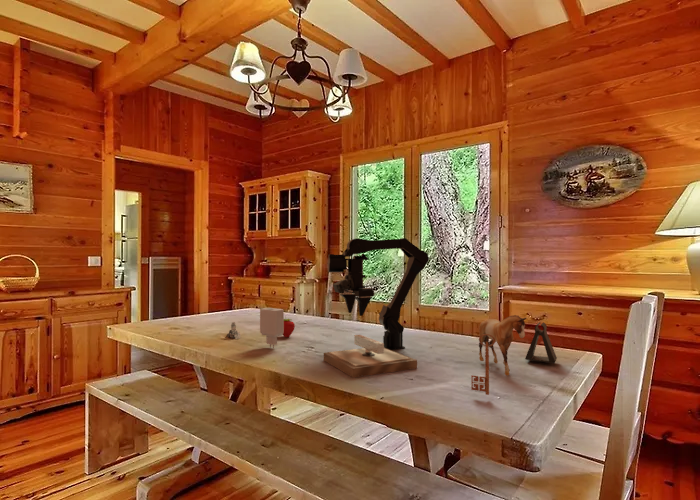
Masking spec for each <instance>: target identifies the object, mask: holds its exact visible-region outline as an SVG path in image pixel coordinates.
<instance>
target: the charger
mask: <svg viewBox="0 0 700 500" xmlns="http://www.w3.org/2000/svg"><path fill="white" fill-rule="evenodd" d="M284 312H285V311H284V309H283V308H273V307H264V308H263V307H262V308H260V309H259V333H260V334H261V335H262V336H266V341H265V342H266V344H268V345H269V348H270V349H271V348H272V349H275V346H276V345H278V337H282V336H283V333H284V319H285V318H284V317H285V313H284Z"/></svg>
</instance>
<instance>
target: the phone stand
mask: <svg viewBox="0 0 700 500" xmlns="http://www.w3.org/2000/svg"><path fill="white" fill-rule="evenodd" d="M539 325H540V326H541V327H542V328H543V330H542V329H540V328H539ZM547 328H548V327H547V323H545V322H542V323H541V322H537V324H536V325H535V326H534V335H533V337H532V340H531V343H530V344H529V345H530V346H529V348H528V350H527V353H526V355H525V357H524V360H526V361H534V362H543V363H551V364H555V363H556V362H557V359H558V356H557V355H556V352H555V349H554V347H553V345H552V342H551V339H550V337H549V334H548V331H547ZM539 337H541V338H542V341H543V346H544V349H545V352H546V355H547V356H541V355H535V351H536V348H537V346H538V341H539Z"/></svg>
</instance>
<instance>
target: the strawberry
mask: <svg viewBox="0 0 700 500" xmlns="http://www.w3.org/2000/svg"><path fill="white" fill-rule="evenodd" d="M292 320H293V319H291V318H284V333H283V335H282V336H283V337H284V338H290V337H291V335H292V334H293V332H294V330H295V327H296V325H295V323H294V322H293V321H292Z"/></svg>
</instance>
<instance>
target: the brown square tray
mask: <svg viewBox="0 0 700 500" xmlns="http://www.w3.org/2000/svg"><path fill="white" fill-rule="evenodd" d="M323 361H324V362H325V363H327V364H329V365H331V366H332V367H333V368H336V369H338V370H340V371H341V372H343V373H344V374H346V375H348V376H350V377H351V378H352V379H353V378H359V377H360V378H361V377H366V376H373V375H374V376H375V375H380V374H381V375H382V374H387V373H393V372H394V373H395V372H401V371H406V370H415V369H418V360H417V359H415V358H413V357H410V356H407V355H405V354H402V353H400V352H397V351H394V350H389V349H387V348H384V353H383V354H377V353H375V352H372V354H365V348H363V347H360V348H354V349H344V350H335V351H329V352H326V351H325V352H323Z"/></svg>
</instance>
